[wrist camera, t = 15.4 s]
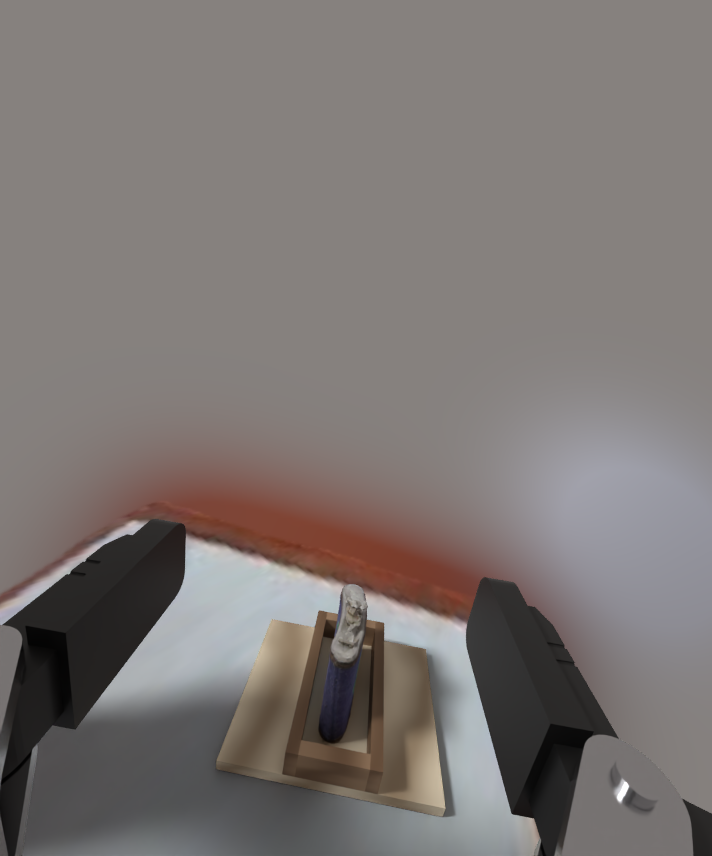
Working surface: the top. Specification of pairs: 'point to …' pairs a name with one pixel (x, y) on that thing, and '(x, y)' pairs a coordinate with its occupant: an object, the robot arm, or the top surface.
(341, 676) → the flask
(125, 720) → the top surface
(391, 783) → the slot board
